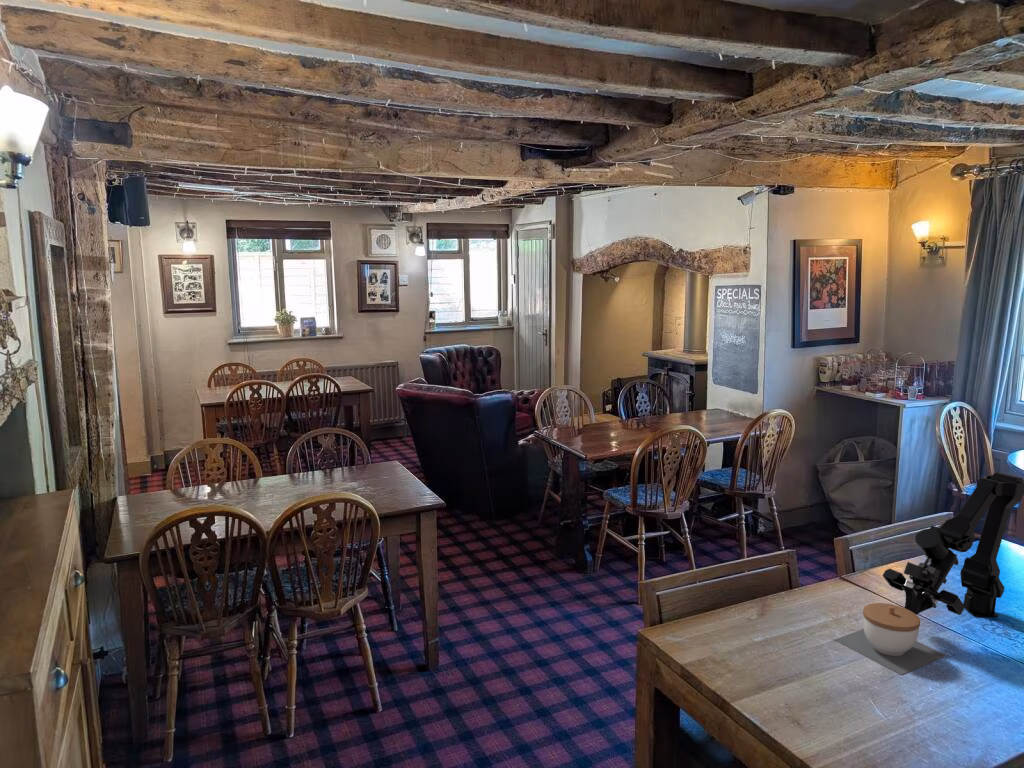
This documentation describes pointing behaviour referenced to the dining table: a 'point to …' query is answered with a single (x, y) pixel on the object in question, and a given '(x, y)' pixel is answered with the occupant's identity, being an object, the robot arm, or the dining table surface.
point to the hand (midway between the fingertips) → (905, 618)
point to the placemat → (898, 664)
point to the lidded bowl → (890, 628)
